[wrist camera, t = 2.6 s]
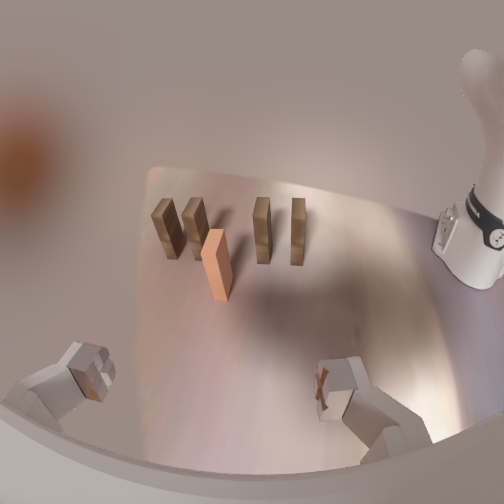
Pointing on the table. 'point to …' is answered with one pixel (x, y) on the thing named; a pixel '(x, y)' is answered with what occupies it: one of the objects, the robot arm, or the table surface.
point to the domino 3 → (217, 264)
